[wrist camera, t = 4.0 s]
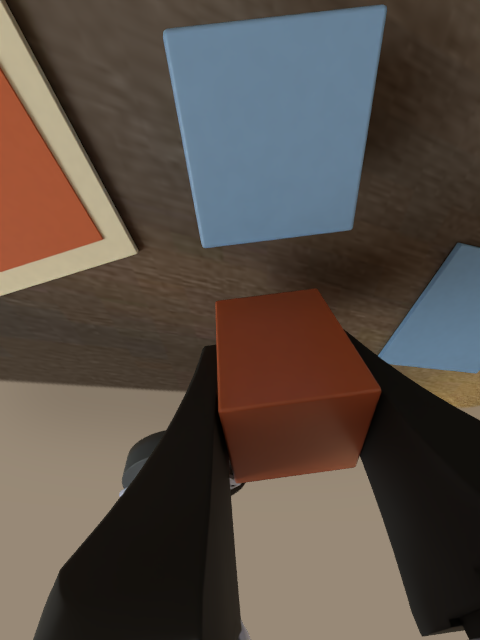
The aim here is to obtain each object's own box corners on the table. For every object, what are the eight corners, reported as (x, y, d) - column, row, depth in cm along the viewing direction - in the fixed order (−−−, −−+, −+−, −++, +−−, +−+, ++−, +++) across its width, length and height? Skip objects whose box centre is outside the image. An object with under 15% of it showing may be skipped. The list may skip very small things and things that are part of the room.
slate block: (307, 56, 9) (390, 1, 5) (302, 191, 11) (353, 231, 7) (184, 71, 9) (160, 27, 5) (205, 203, 11) (202, 249, 7)
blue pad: (374, 359, 18) (377, 362, 17) (457, 242, 13) (462, 244, 13) (473, 370, 19) (476, 373, 19) (577, 269, 15) (583, 271, 14)
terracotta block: (317, 287, 10) (384, 389, 6) (310, 360, 13) (356, 468, 9) (215, 300, 10) (218, 412, 6) (227, 371, 13) (235, 484, 9)
